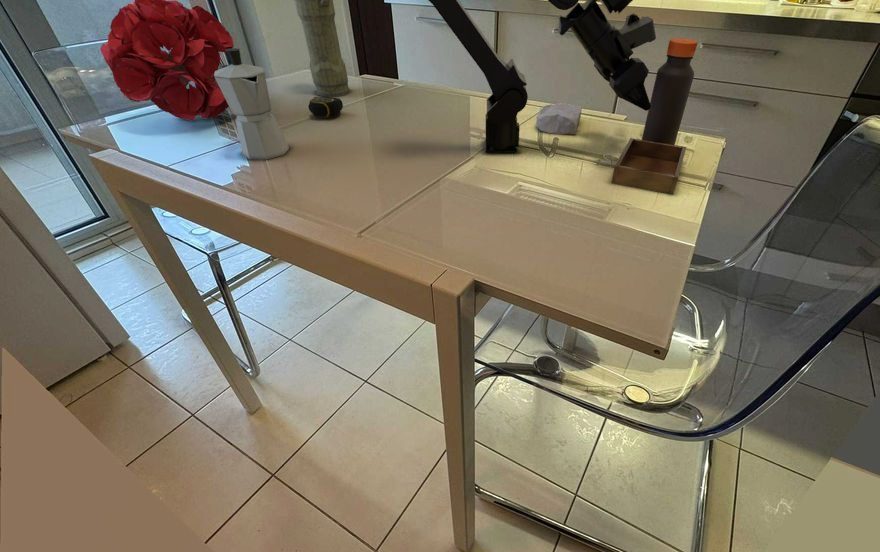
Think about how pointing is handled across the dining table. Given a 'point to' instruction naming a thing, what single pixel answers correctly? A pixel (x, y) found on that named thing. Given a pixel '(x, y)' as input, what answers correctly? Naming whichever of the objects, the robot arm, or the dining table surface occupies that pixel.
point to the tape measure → (325, 106)
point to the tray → (649, 165)
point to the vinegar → (670, 92)
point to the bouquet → (168, 57)
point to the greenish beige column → (323, 47)
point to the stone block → (559, 118)
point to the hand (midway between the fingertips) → (642, 101)
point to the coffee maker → (251, 108)
